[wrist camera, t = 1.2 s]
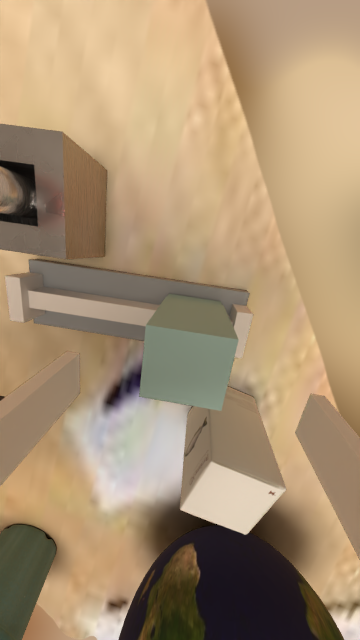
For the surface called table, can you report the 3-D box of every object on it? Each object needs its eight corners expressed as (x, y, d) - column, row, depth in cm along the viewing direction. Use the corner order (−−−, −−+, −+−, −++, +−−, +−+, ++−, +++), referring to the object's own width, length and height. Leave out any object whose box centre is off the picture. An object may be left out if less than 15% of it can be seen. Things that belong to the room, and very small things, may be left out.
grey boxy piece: (32, 245, 27) (-34, 244, 19) (26, 159, 24) (-55, 116, 16) (104, 256, 26) (66, 259, 19) (106, 170, 23) (62, 131, 16)
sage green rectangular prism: (163, 336, 27) (139, 396, 16) (169, 291, 25) (145, 324, 14) (212, 344, 27) (221, 410, 16) (221, 299, 25) (238, 339, 14)
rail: (41, 319, 29) (11, 332, 25) (37, 258, 27) (3, 260, 22) (232, 350, 29) (238, 370, 24) (246, 290, 26) (257, 299, 21)
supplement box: (207, 376, 30) (212, 459, 18) (254, 396, 30) (291, 492, 18) (185, 414, 32) (177, 511, 20) (230, 433, 33) (248, 539, 21)
